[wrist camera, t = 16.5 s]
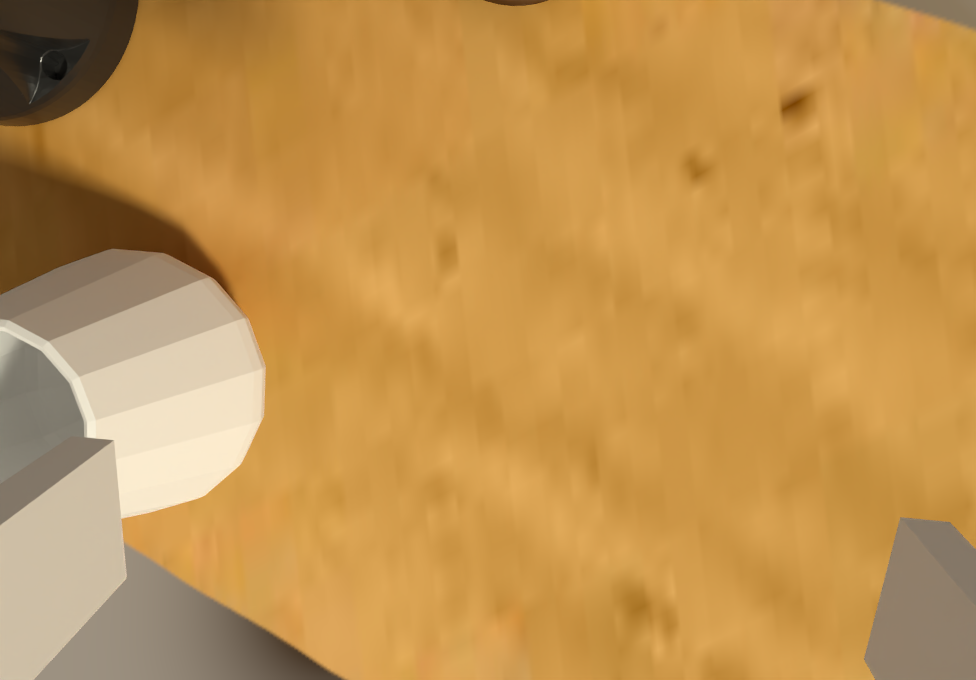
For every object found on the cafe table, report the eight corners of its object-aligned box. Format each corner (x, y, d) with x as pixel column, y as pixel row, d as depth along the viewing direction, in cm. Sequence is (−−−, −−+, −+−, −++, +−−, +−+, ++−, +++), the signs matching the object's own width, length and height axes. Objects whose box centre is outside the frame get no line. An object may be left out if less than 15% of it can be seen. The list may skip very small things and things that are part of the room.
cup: (338, 416, 41) (220, 506, 28) (146, 522, 44) (-52, 653, 30) (214, 201, 41) (28, 183, 27) (23, 320, 43) (-237, 360, 29)
